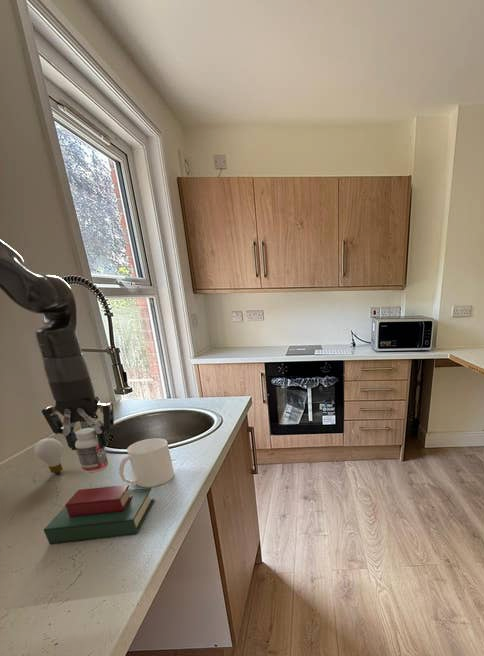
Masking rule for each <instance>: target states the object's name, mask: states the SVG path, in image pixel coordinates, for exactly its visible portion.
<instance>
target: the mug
mask: <svg viewBox="0 0 484 656" xmlns="http://www.w3.org/2000/svg"><path fill="white" fill-rule="evenodd" d="M168 443H169V442H168V441H167V439H164V438H161V437H152V438H146V439H142V440H138V441H136V442H134V443H132V444H130V445H129V446H127V448H126V451H127V455H126V456H124V457H123V458H122V460H121V462H120V465H119V470H118V471H119V472H118V473H119V477H120V478H121V481H122V482H125V483H127V484H129V485H134V484H135V485H137V486H139V487H141V488H155V487H159V486H161V485H164V484H166V483H168V482H170V481H171V480H172V479H173V477H174V476H175V470H174V466H173V461H172V457H171V453H170V452H171V451H170V449H169V444H168ZM128 461H129V463H130V466H131V470H132V473H133V477H134V479H128V478H127V477H125V474H124V469H125V466H126V463H127V462H128Z"/></svg>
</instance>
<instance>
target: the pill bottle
mask: <svg viewBox="0 0 484 656" xmlns="http://www.w3.org/2000/svg"><path fill="white" fill-rule="evenodd" d="M75 434H76V438H77V439H78V440H77V441H76V442H75V447H76V450H75V451H76V453H77V457H78V460H79V464H80V466H81V470H82V471H83V473H85V474H96V473H100V472H102V471H105V470H106V469H108V467H109V460H108V457H107V452H106V450H105V448H100V445H99V442H98V438H97V435H96V434H97V432H96V431H95V430H94V429H93V427H86V428H81V429H77V430H76V431H75Z"/></svg>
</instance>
